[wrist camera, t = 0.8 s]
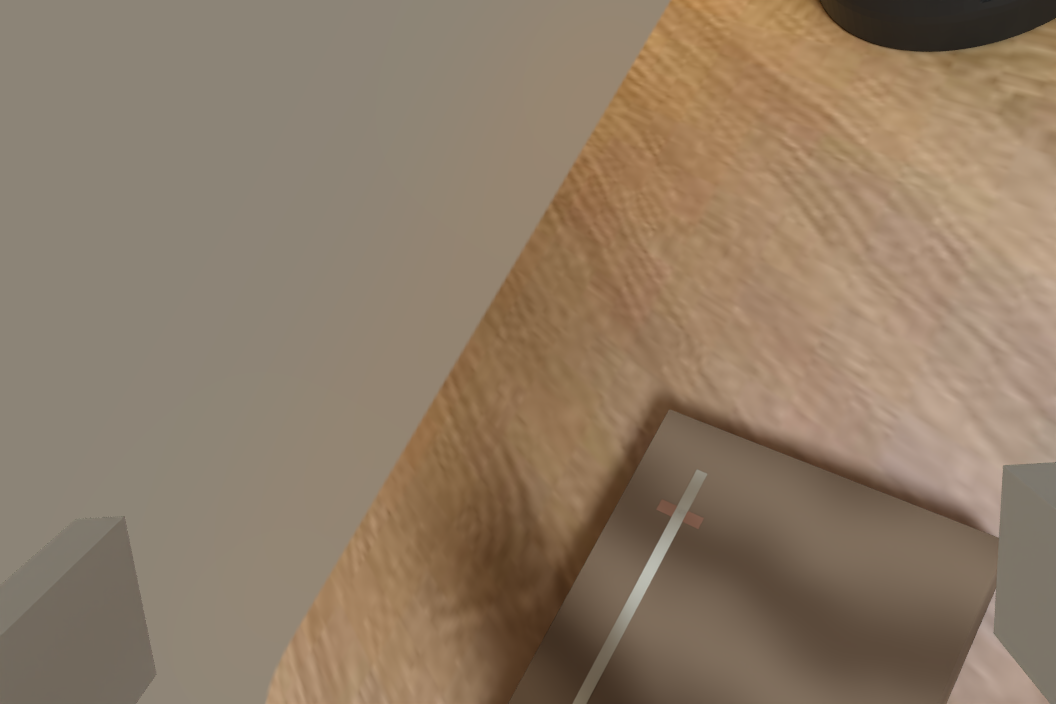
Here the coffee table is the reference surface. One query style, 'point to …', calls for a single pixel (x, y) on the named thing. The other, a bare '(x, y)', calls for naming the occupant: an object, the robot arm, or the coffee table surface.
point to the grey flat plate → (762, 588)
